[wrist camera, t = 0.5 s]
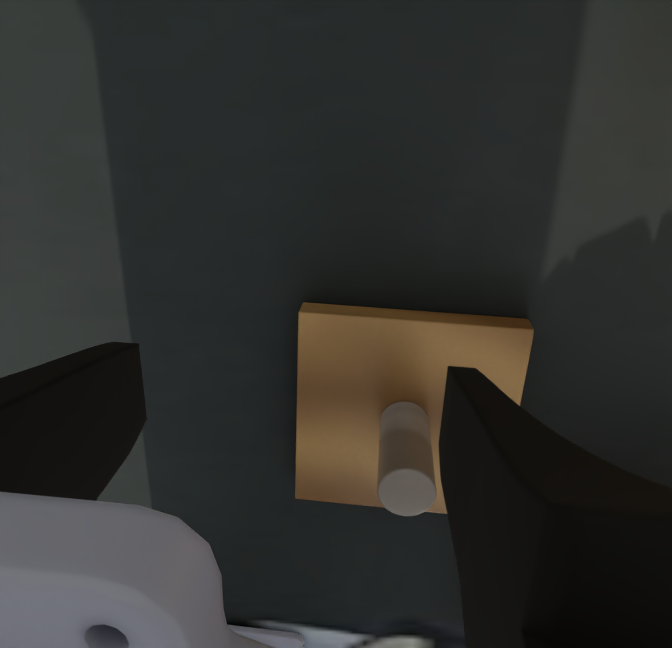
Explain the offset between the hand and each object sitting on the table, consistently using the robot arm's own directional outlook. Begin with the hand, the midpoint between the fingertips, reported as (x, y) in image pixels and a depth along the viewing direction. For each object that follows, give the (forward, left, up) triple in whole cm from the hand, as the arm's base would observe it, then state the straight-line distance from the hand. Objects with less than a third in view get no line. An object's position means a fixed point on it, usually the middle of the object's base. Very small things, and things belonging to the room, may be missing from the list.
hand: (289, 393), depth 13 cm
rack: (-6, -3, -10) cm, 12 cm away
